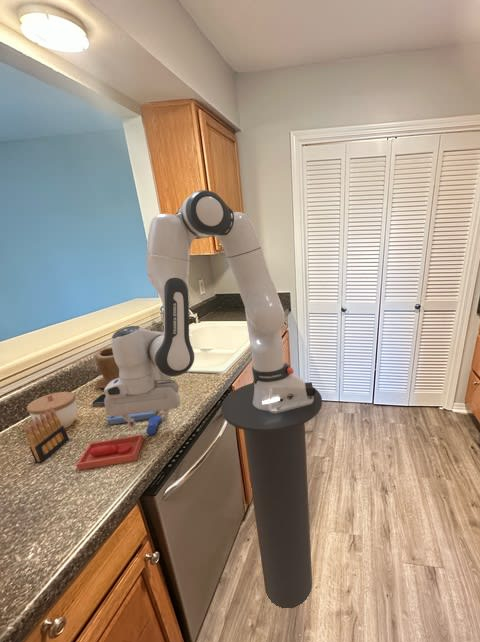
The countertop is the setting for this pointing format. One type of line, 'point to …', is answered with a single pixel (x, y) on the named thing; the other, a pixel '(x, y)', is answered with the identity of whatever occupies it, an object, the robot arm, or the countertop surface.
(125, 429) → the countertop surface
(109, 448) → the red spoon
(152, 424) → the blue lumpy bar
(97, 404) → the phone
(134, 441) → the red tray
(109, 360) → the boot
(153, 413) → the blue tray
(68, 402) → the lidded bowl
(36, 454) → the ammunition clip
